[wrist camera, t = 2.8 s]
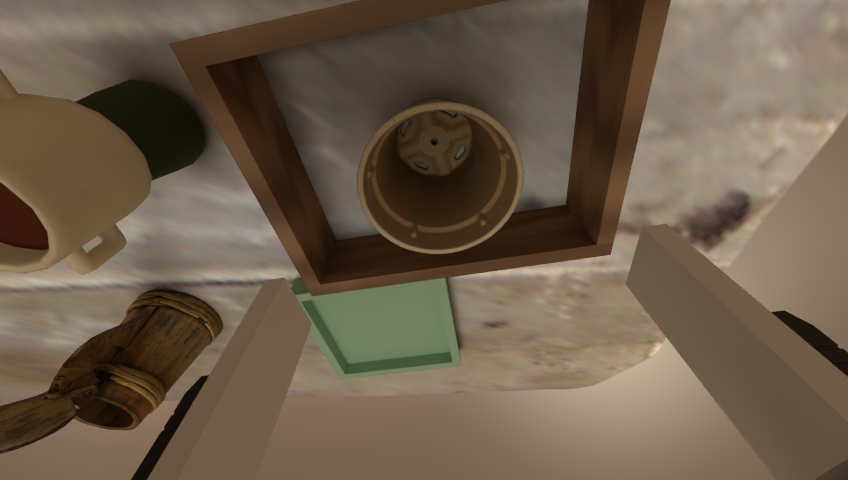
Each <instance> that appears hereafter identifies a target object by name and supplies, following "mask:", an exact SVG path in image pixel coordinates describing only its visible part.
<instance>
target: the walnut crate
mask: <svg viewBox="0 0 848 480" xmlns="http://www.w3.org/2000/svg"><path fill="white" fill-rule="evenodd" d="M500 1H505V0H359V1H354V2H350V3H345V4H341V5H337V6H332V7H328V8H324V9H319V10H315V11H310V12H306V13H302V14H297V15H293V16H289V17H284V18H280V19H276V20H271V21H267V22H262V23H258V24H254V25H249V26H245V27H241V28H236V29H232V30H228V31H223V32H219V33H214V34H210V35H206V36H201V37H197V38H193V39H188V40H184V41H180V42H175V43H171V44H169V45H170V47H171V49H172V50H173V52H174V54H175V56H176V57H177V59H178V61H179V63H180V64H181V66H182V68H183V70H184V71H185V73H186V75H187V77H188V79H189V80H190V82H191V84H192V86H193V87H194V89H195V91H196V93H197V94H198V96H199V98H200V100H201V101H202V103H203V105H204V107H205V109H206V110H207V112H208V114H209V116H210V117H211V119H212V121H213V123H214V124H215V126H216V128H217V130H218V131H219V133H220V135H221V137H222V138H223V140H224V142H225V144H226V146H227V147H228V149H229V151H230V153H231V154H232V156H233V158H234V160H235V161H236V163H237V165H238V167H239V168H240V170H241V172H242V174H243V176H244V177H245V179H246V181H247V183H248V184H249V186H250V188H251V190H252V191H253V193H254V195H255V197H256V198H257V200H258V202H259V204H260V206H261V207H262V209H263V211H264V213H265V214H266V216H267V218H268V220H269V221H270V223H271V225H272V227H273V228H274V230H275V232H276V234H277V235H278V237H279V239H280V241H281V243H282V244H283V246H284V248H285V250H286V251H287V253H288V255H289V257H290V258H291V260H292V262H293V264H294V265H295V267H296V269H297V271H298V273H299V274H300V276H301V278H302V280H303V281H304V283H305V285H306V287H307V288H308V290H309V292H310V294H311V295H312V296H319V295H326V294H333V293H340V292H348V291H355V290H362V289H369V288H376V287H383V286H390V285H397V284H405V283H412V282H419V281H426V280H433V279H440V278H447V277H455V276H462V275H469V274H476V273H483V272H490V271H497V270H505V269H512V268H519V267H526V266H533V265H540V264H547V263H554V262H562V261H569V260H576V259H583V258H590V257H597V256H604V255H611V250H612V246H613V242H614V238H615V233H616V229H617V225H618V221H619V217H620V212H621V208H622V204H623V200H624V195H625V191H626V187H627V183H628V179H629V174H630V170H631V166H632V162H633V158H634V153H635V149H636V145H637V141H638V136H639V132H640V128H641V124H642V120H643V115H644V111H645V107H646V103H647V98H648V94H649V90H650V86H651V82H652V77H653V73H654V69H655V65H656V61H657V56H658V52H659V48H660V44H661V39H662V35H663V31H664V27H665V23H666V18H667V14H668V10H669V6H670V1H671V0H589V5H588V14H587V23H586V32H585V41H584V50H583V59H582V68H581V77H580V86H579V94H578V103H577V112H576V121H575V130H574V139H573V148H572V157H571V166H570V175H569V183H568V192H567V201H566V205H565V206H559V207H552V208H546V209H539V210H533V211H527V212H520V213H514V214H511V216H510V218H509V219H508V220H507V221H506V223H505V224H504V225H503V226H502V227H501V228H500V229H499V230H498V231H497V232H495V233H494V235H492V236H491V237H489V238H488V239H486V240H484V241H483V242H481V243H479V244H477V245H475V246H472V247H470V248H468V249H465V250H462V251H457V252H453V253H446V254H442V253H441V254H429V253H421V252H415V251H412V250H408V249H406V248H403V247H400V246H399V245H397V244H394V243H393V242H391V241H390V240H388V239H387V238H386V237H384V236H383V235H382V234H379V235H373V236H367V237H360V238H354V239H347V240H341V241H336V240H335V238H334V235H333V233H332V231H331V229H330V226H329V224H328V222H327V219H326V217H325V215H324V212H323V210H322V208H321V205H320V203H319V201H318V199H317V196H316V194H315V192H314V189H313V187H312V185H311V182H310V180H309V178H308V175H307V173H306V171H305V169H304V166H303V164H302V162H301V159H300V157H299V155H298V152H297V150H296V148H295V146H294V143H293V141H292V139H291V136H290V134H289V132H288V129H287V127H286V125H285V122H284V120H283V118H282V116H281V113H280V111H279V109H278V106H277V104H276V102H275V99H274V97H273V95H272V92H271V90H270V88H269V86H268V83H267V81H266V79H265V76H264V74H263V72H262V69H261V67H260V65H259V62H258V60H257V58H256V56H255V55H258V54H263V53H267V52H272V51H277V50H281V49H286V48H290V47H295V46H299V45H304V44H308V43H313V42H318V41H322V40H327V39H331V38H336V37H340V36H345V35H350V34H354V33H359V32H363V31H368V30H372V29H377V28H381V27H386V26H391V25H395V24H400V23H404V22H409V21H413V20H418V19H423V18H427V17H432V16H436V15H441V14H445V13H450V12H454V11H459V10H464V9H468V8H473V7H477V6H482V5H486V4H491V3H495V2H500Z"/></svg>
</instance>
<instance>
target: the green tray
mask: <svg viewBox="0 0 848 480" xmlns="http://www.w3.org/2000/svg"><path fill="white" fill-rule="evenodd" d="M291 289H292V291H293V293H294V294H295V296H296V298H297V299H298V301H299V303H300V304H301V306H302V308H303V309H304V311H305V313H306V314H307V316H308V318H309V319H310V321H311V323H312V325H311V327H310V330H309V331H310V333H311V334H312V336H313V337H314V339H315V341H316V342H317V344H318V345H319V347H320V348H321V350H322V352H323V353H324V355H325V356H326V358H327V359H328V361H329V363H330V364H331V366H332V367H333V369H334V370H335V372H336V374H337V375H338V377H339V378H340V379H349V378H358V377H367V376H376V375H385V374H393V373H402V372H411V371H420V370H429V369H438V368H446V367H455V366H461V359H460V351H459V345H458V339H457V334H456V328H455V323H454V317H453V312H452V306H451V301H450V296H449V290H448V285H447V279H446V278H440V279H433V280H426V281H419V282H412V283H405V284H397V285H390V286H383V287H376V288H369V289H362V290H355V291H348V292H340V293H333V294H326V295H319V296H312V295H311V294H310V292H309V290H308V288H307V287H306V285H305V283H304V281H303V280H302V278H299V279H295V281H294V283H293V285H292V287H291Z"/></svg>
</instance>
